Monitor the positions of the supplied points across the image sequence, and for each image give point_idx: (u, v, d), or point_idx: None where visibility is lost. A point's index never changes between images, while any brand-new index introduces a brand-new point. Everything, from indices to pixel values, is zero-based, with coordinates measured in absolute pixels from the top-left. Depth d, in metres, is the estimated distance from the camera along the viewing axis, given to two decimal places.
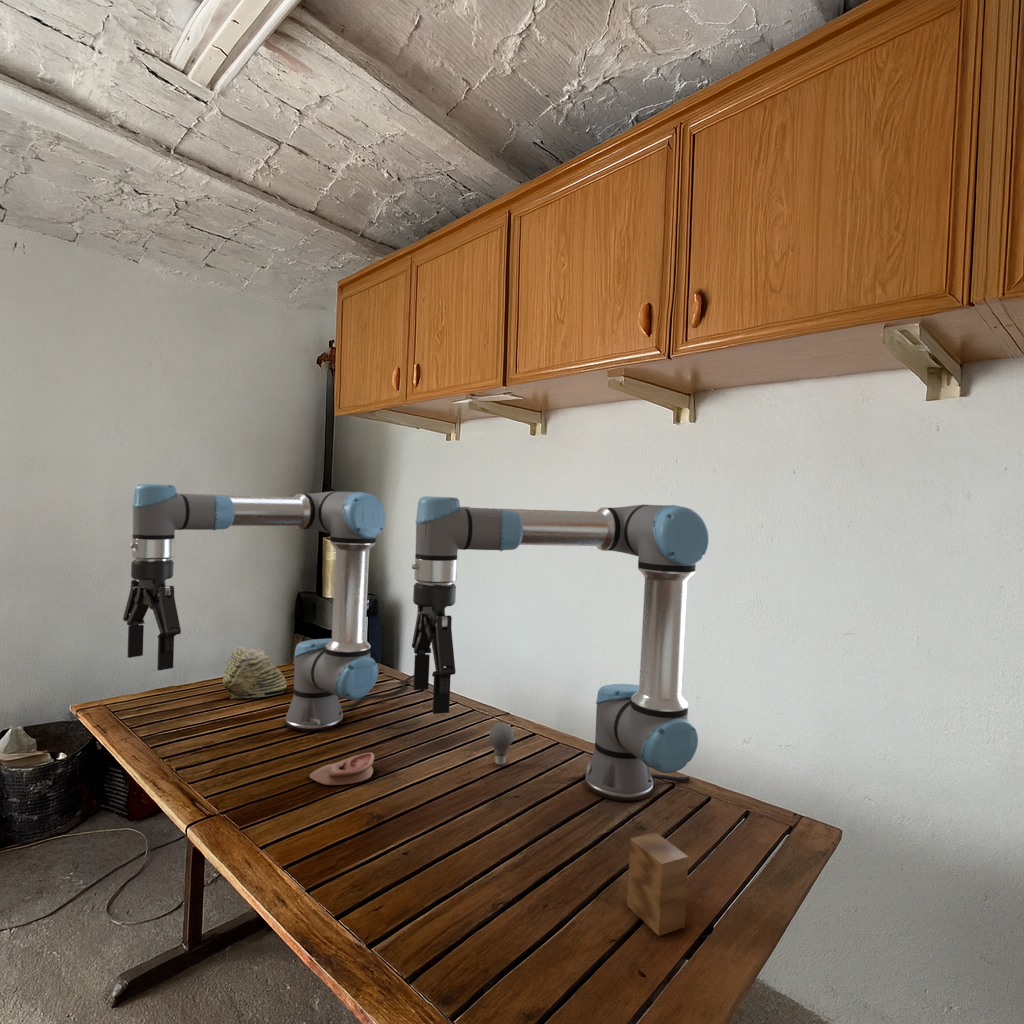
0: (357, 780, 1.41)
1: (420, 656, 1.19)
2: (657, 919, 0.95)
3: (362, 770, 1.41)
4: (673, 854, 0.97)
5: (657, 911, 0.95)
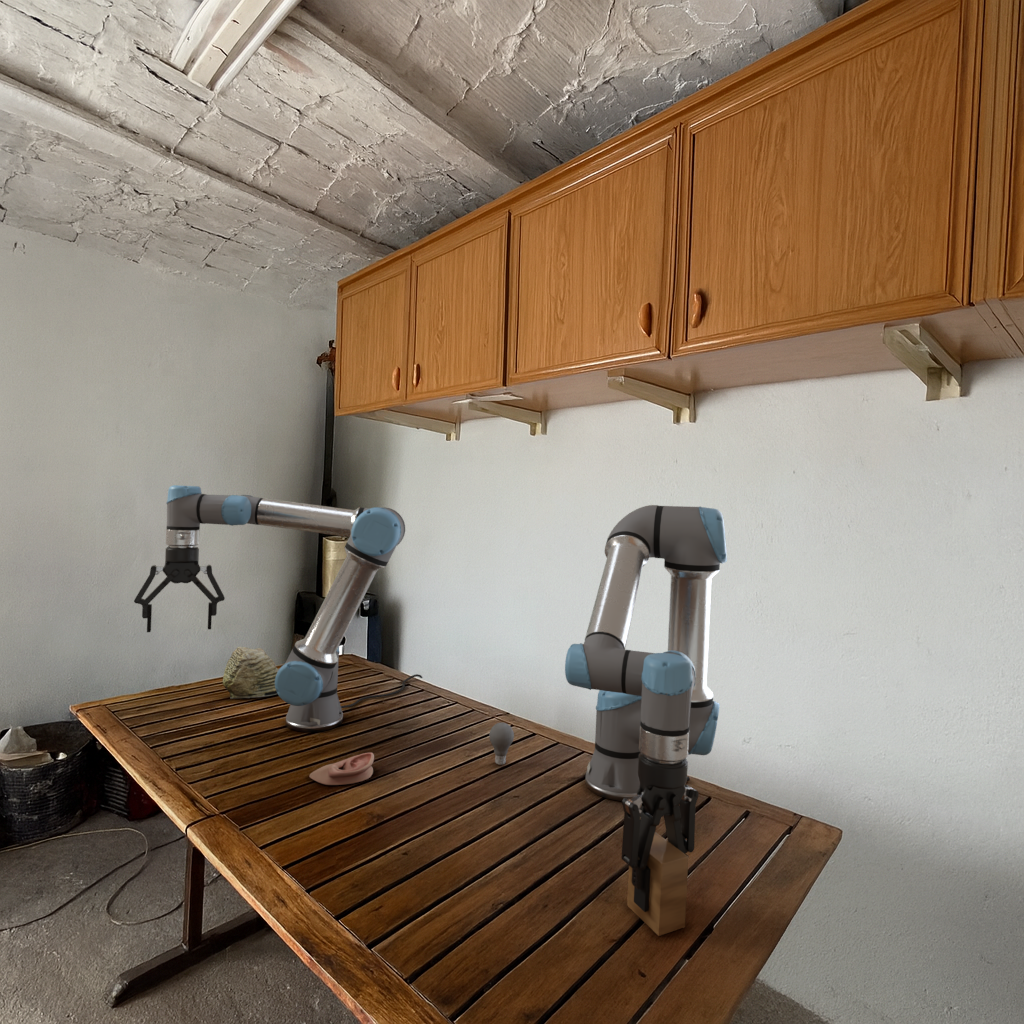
0: (357, 780, 1.41)
1: None
2: (657, 919, 0.95)
3: (362, 770, 1.41)
4: (673, 854, 0.97)
5: (657, 911, 0.95)
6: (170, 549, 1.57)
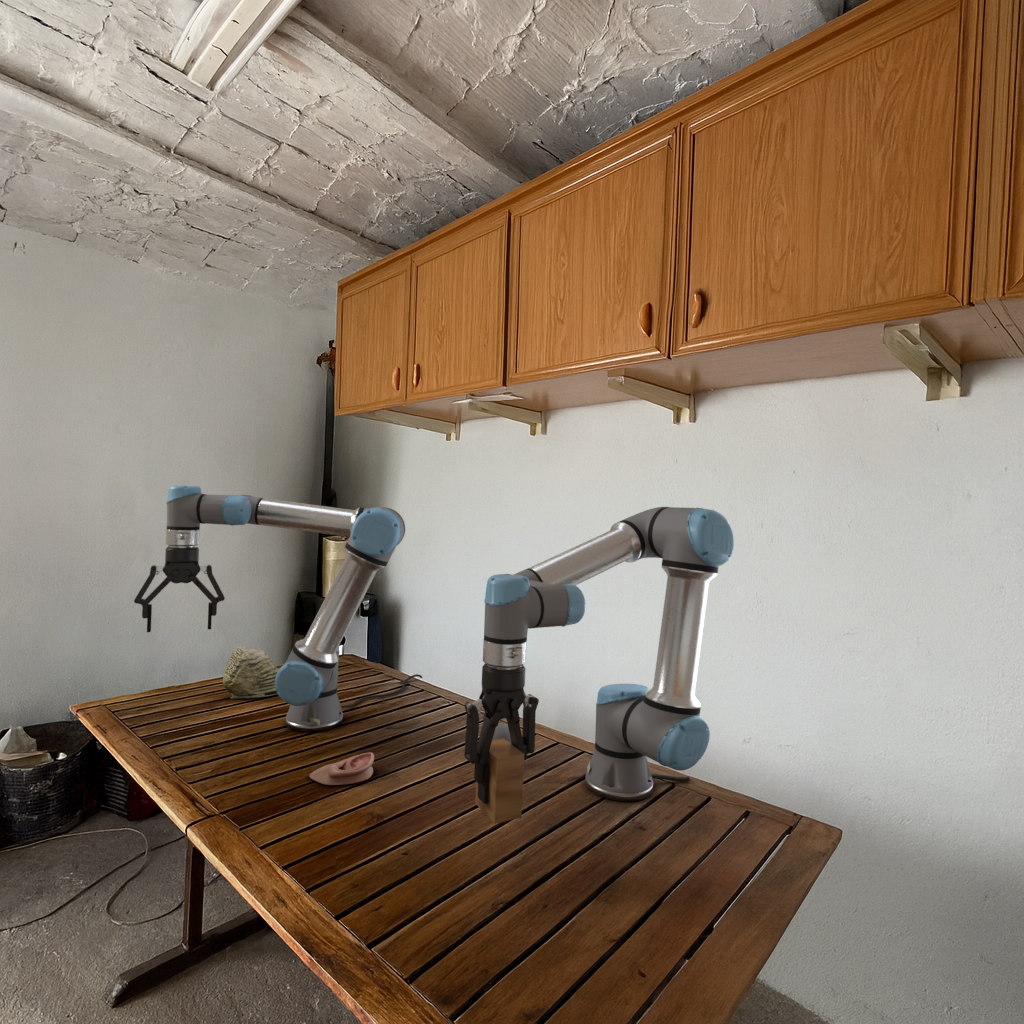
0: (357, 780, 1.41)
1: None
2: (493, 809, 1.06)
3: (362, 770, 1.41)
4: (511, 752, 1.08)
5: (494, 802, 1.06)
6: (170, 549, 1.57)
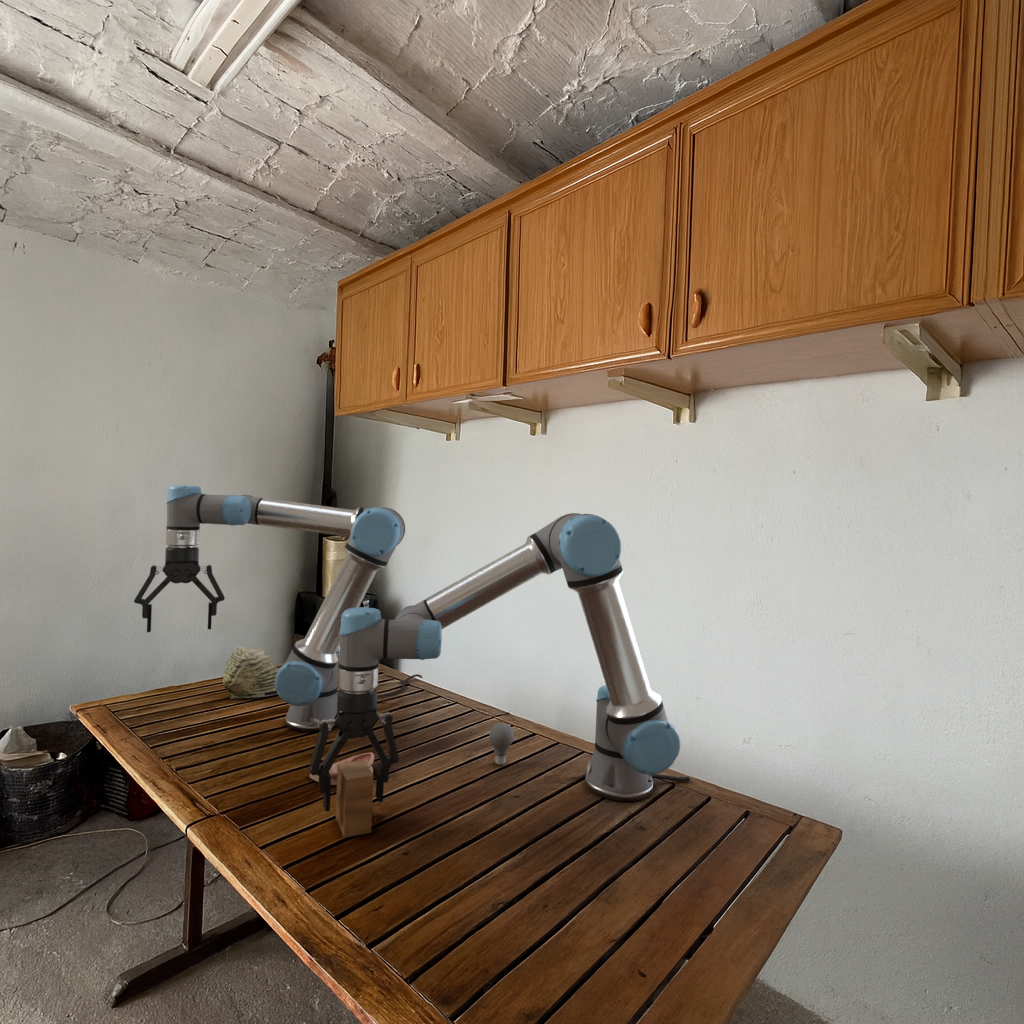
0: None
1: (329, 775, 1.20)
2: (343, 824, 1.19)
3: None
4: (362, 773, 1.21)
5: (344, 818, 1.19)
6: (170, 549, 1.57)
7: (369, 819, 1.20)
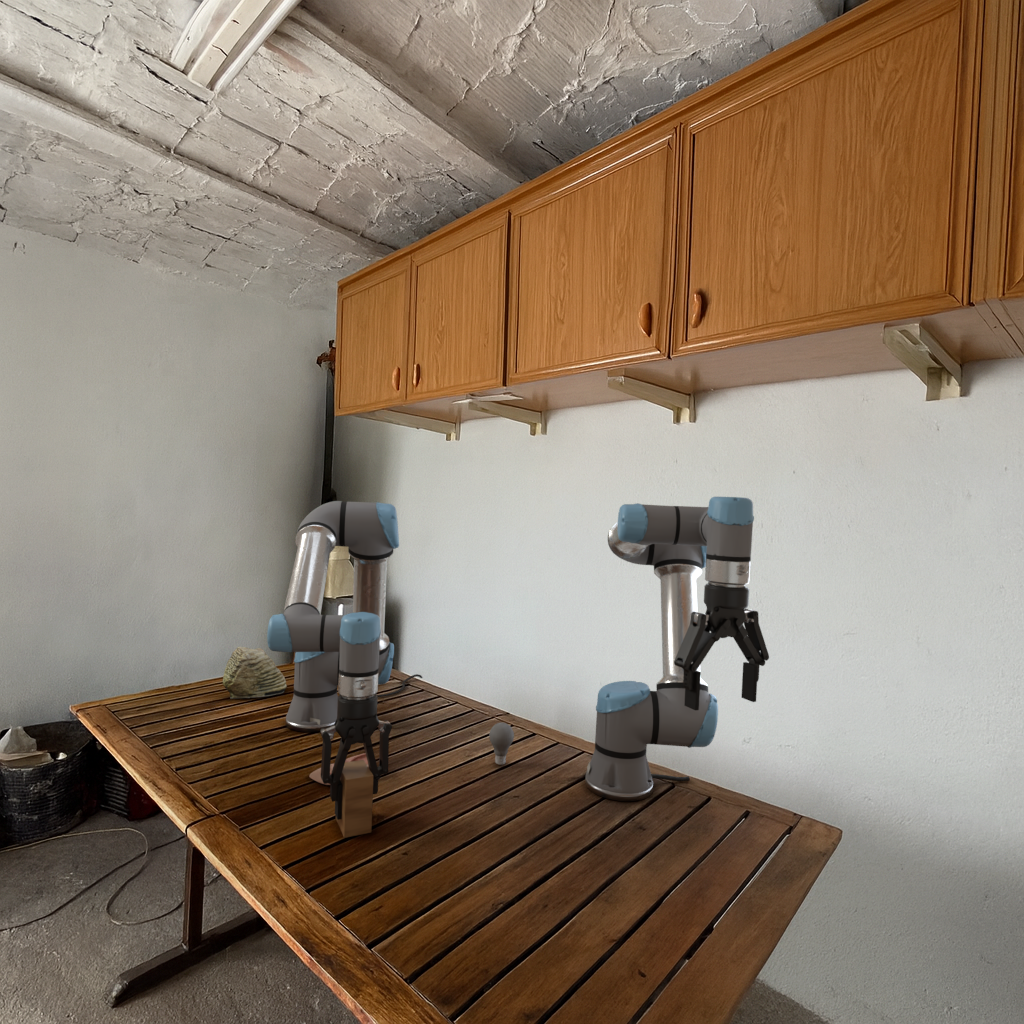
0: None
1: None
2: (343, 824, 1.19)
3: None
4: (362, 773, 1.21)
5: (344, 818, 1.19)
6: (347, 702, 1.19)
7: (369, 819, 1.20)
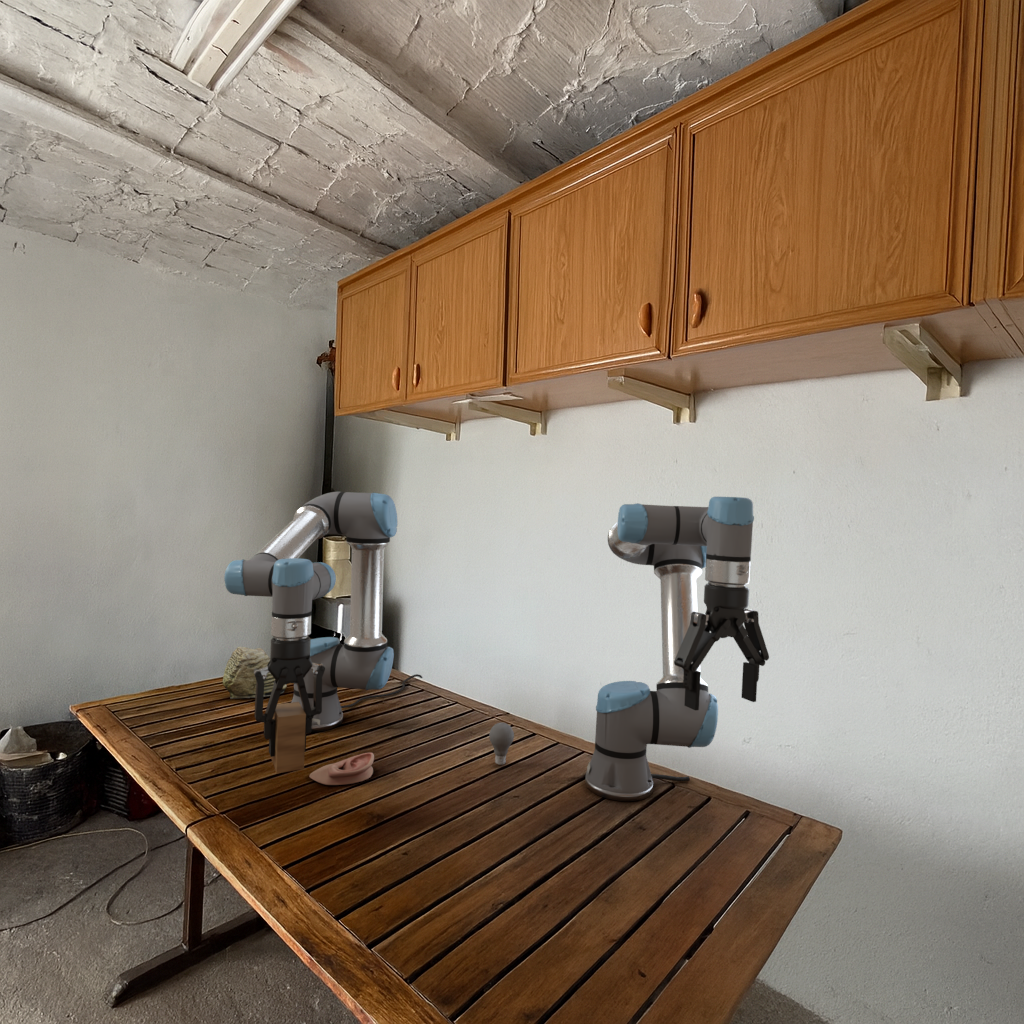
0: (357, 780, 1.41)
1: None
2: (276, 760, 1.23)
3: (362, 770, 1.41)
4: (295, 712, 1.25)
5: (276, 755, 1.23)
6: (279, 643, 1.23)
7: (302, 756, 1.24)
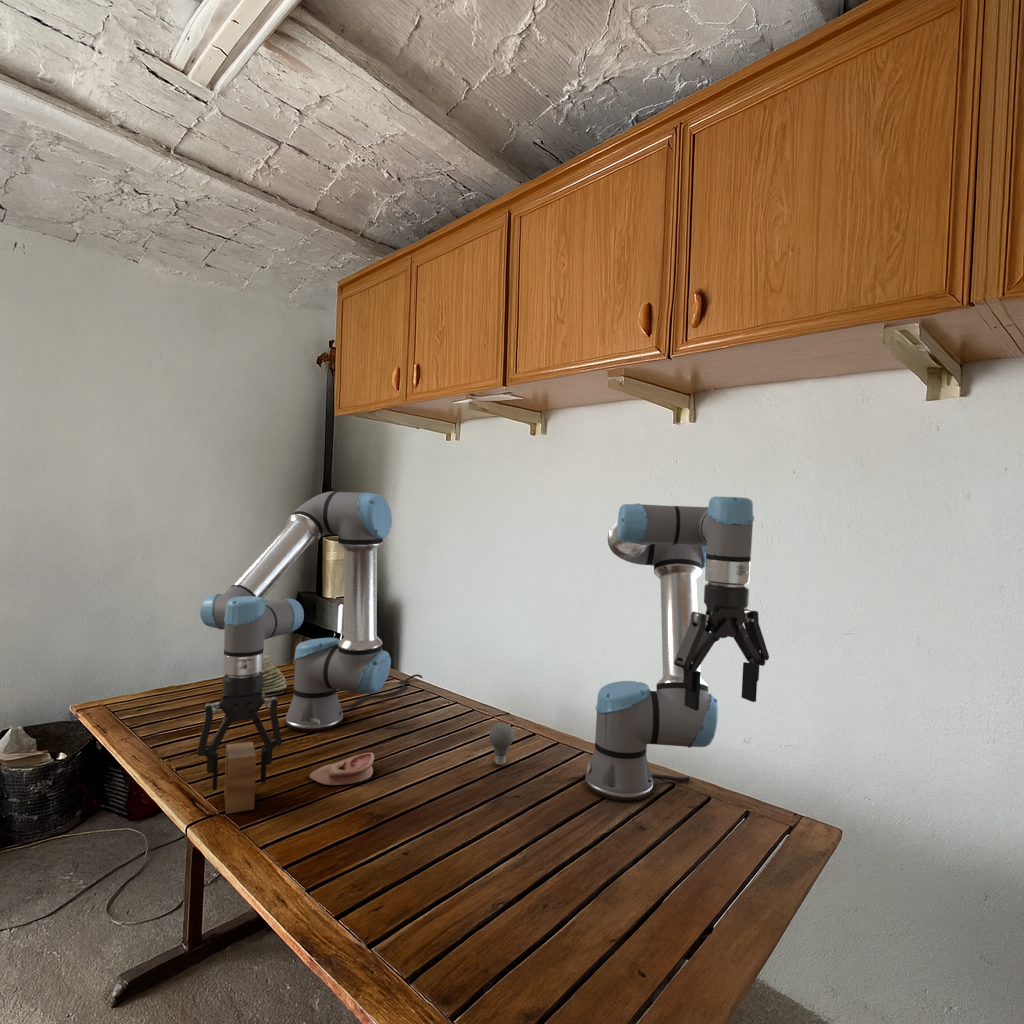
0: (357, 780, 1.41)
1: None
2: (226, 801, 1.25)
3: (362, 770, 1.41)
4: (246, 753, 1.27)
5: (226, 795, 1.25)
6: (229, 680, 1.26)
7: (252, 797, 1.27)
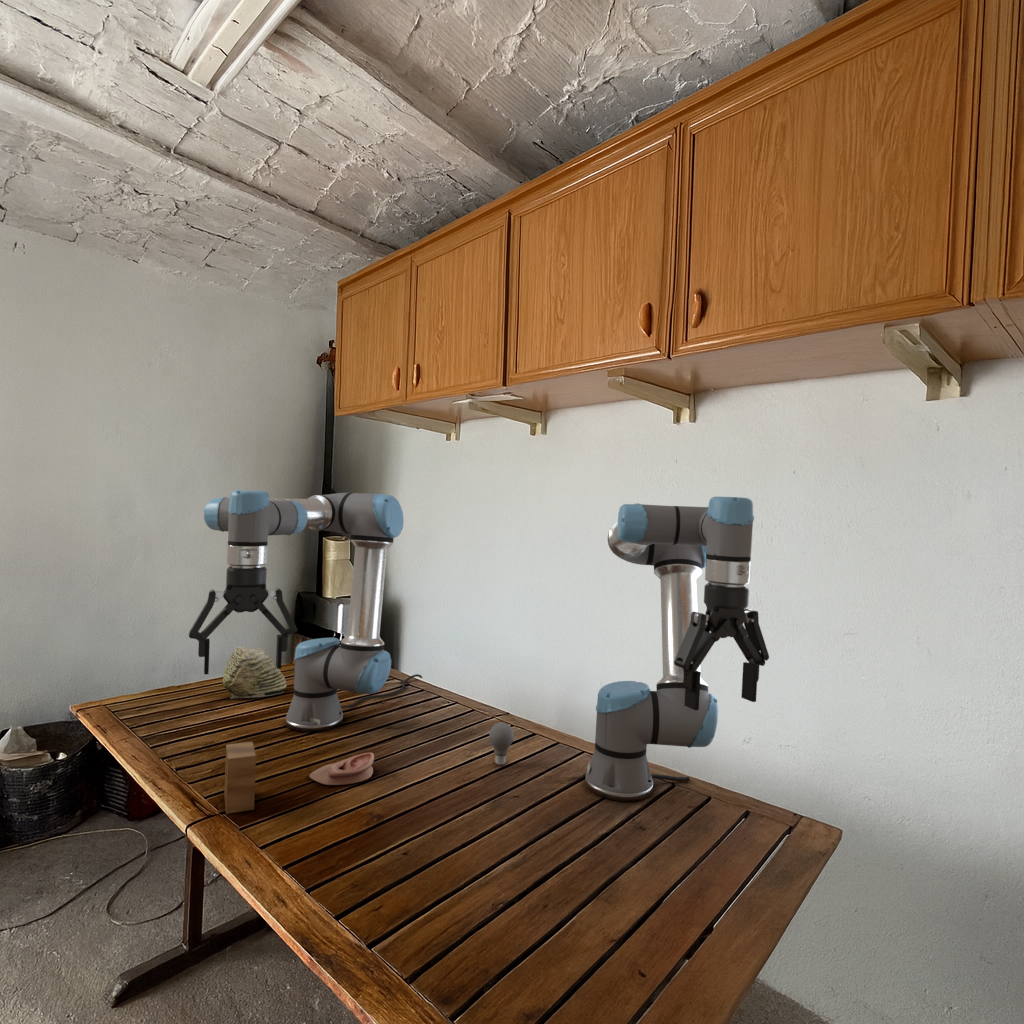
0: (357, 780, 1.41)
1: None
2: (226, 801, 1.25)
3: (362, 770, 1.41)
4: (246, 753, 1.27)
5: (226, 795, 1.25)
6: (233, 570, 1.25)
7: (252, 797, 1.27)
